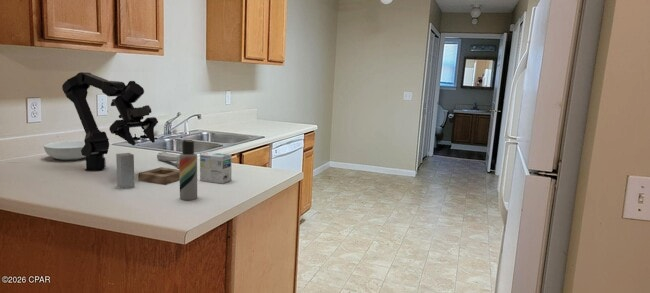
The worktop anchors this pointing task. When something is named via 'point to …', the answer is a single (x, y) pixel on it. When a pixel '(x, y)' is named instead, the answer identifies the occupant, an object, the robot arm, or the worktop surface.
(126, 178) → the steel peg
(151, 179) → the wooden square hole board
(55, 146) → the serving bowl
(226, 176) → the light bulb box
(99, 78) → the robot arm
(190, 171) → the lotion bottle
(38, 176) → the worktop surface
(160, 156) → the grey metal cylinder
